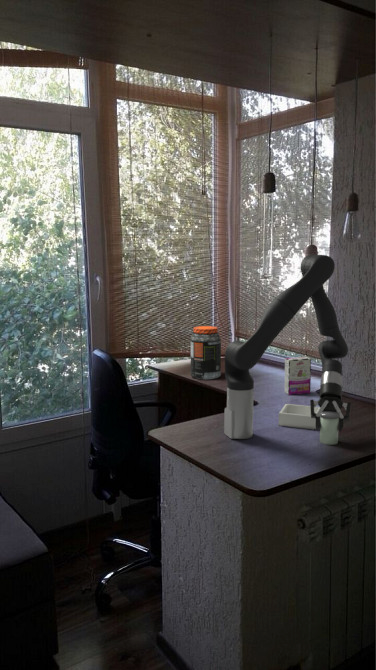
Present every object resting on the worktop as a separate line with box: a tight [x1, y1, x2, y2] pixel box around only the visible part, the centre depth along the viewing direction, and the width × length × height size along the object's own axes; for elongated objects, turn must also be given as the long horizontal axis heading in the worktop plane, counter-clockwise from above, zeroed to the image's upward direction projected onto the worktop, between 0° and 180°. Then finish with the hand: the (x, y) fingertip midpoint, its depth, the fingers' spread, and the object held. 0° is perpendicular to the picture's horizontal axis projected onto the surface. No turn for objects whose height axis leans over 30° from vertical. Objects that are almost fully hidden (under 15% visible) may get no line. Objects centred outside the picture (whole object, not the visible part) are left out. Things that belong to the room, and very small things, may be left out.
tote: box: [278, 403, 320, 431], centre depth 208 cm, size 14×14×5 cm
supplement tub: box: [189, 325, 222, 380], centre depth 283 cm, size 16×16×26 cm
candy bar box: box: [283, 356, 312, 396], centre depth 251 cm, size 11×5×16 cm, turn 105°
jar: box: [319, 411, 340, 446], centre depth 186 cm, size 6×6×10 cm
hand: (329, 429), depth 185 cm, fingers open, 6 cm apart
